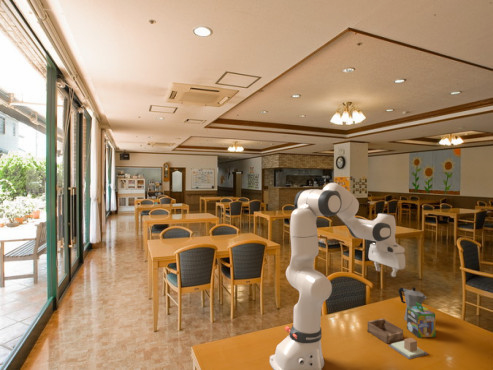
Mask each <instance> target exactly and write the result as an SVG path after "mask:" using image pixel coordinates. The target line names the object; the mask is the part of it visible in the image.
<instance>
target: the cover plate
mask: <svg viewBox="0 0 493 370" xmlns="http://www.w3.org/2000/svg"><path fill="white" fill-rule="evenodd" d="M390 344H391V345H392V346H393V347H395V348H396V349H398V350H400V351H401V352H403V353H404V354H406V355H407V356H409V357H412V356H416V355H419V354H423V353H424V351H425V350H423V349H421V348H420V347H418V341H417V340H416V339H415V338H412V337H409V338H405V339H404V338H403V340H400V341H396V342H392V343H390Z"/></svg>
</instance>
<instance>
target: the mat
mask: <svg viewBox="0 0 493 370" xmlns="http://www.w3.org/2000/svg"><path fill="white" fill-rule="evenodd" d="M391 344H392V343H389V344H387V345H388V347H390V348H391V349H393V350H394V351H396V352H397V353H399V354H401V356H403V357H405V358H406V359H408V360H410V359H415V358H418V357H422V356H426V355H429V353H428V352H426V351H425V350H423V351H424V353H423V354H419V355H416V356H412V357H409V356H407V355H406V354H404V353H403V352H401V351H400V350H398V349H396V348H395V347H393V346H392V345H391Z"/></svg>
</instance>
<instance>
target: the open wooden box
mask: <svg viewBox="0 0 493 370" xmlns="http://www.w3.org/2000/svg"><path fill="white" fill-rule="evenodd" d="M367 332H368V333H370V334H371V335H372V336H374V337H375V338H377V339H379V340H380V341H382V342H383V343H384V344H387V345H389V344H392V343H396V342H400V341H404V329H403V328H401V327H399V326H397V325H395V324H394V323H392V322H390V321H388V320H386V319H385V318H378V319H372V320H368V321H367Z"/></svg>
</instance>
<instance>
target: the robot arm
mask: <svg viewBox="0 0 493 370" xmlns="http://www.w3.org/2000/svg"><path fill="white" fill-rule="evenodd" d="M293 203H294V205H293V209H294V210H293V211H292V212H291V214H290V222H289V225H290V226H289V234H290V248H291V249H290V250H291V254H290V255H291V256H290V261H289V265H288V266H287V268H286V270H285V276H286V277H285V278H286V279H287V281H288V284H290V286H291V287H293V288H294V289H296V290H297V291H298V294H299V297H298V301H297V303H296V304H295V305H294V306H293V314H292V315H293V317H292V318H293V322H292V325H291V327H289V326H288V325H286V326H285V327H284V330H285V332H287V333H289V334H288V335H287V336H286V337H285V338H284V339H283V340H281V341H280V343H278V344H277V345H276V348H275V350H274V351H275V353H274V354H271V355H269V365H270V366H271V368H272V370H322V369H323V367H324V366H325V360H324V357H323V350H322V341H321V340H322V336H323V335H322V332H323V331H322V326H321V324H322V323H321V319H322V317H321V316H322V308H323V304H324V302H325V301H326V300H329V298H330V297H331V294H332V292H333V286H332V285H333V284H332V283H331V281H330V280H329V278H328V277H327V276H326V275H325V274H323V272H320V271H319V270H316V269H315V267H314V263H315V258H316V257H317V256H318V255H319V251H320V250H319V239H318V237H319V236H318V227H317V220H318V217H333V216H335V215H336V216H337V218H338V219H339V220H340V221H341V222H342V224H344V226H345V227H346V228H347V229H348V231H349V233H350V235H351V236H352V238H355V239H359V240H361V239H362V240H365V241H366V240H368V241H372V243H370V244H369V249H368V257H367V258H368V259H369V261H372V262H373V264H374V266H375V270H376V271H377V272H381V271H382V270H381V269H382V268H381V267H380V264H381V265H384V266H387V267H390V268H392V271H391V272H390V276H391V277H393V278H395V277H396V276H397V273H398V271H399V270H404V269H405V268H406V256H405V252H406V251H405V250H406V249H405V247H403V246H401V245H400V244H398V243H397V241H396V232H397V230H396V229H397V228H396V227H397V226H396V225H397V224H396V219H395V216H394V215H393V214H390V213H383V212H379V213H377V215H376V216H377V217H376V218H375V219H372V220H369V219H362V218H357V217H356V214H357V213H358V211H359V206H360V203H359V200H358V199H357V198H356V196H355V195H353V193H352V192H351V191H349V190H348V189H347V188H346V187H344V186H342V185H340V184H338V183H336V182H329V183H327V184H326V185H325V186H324V187H322V189H319V188H314V189H303V190H300V191H298V192H297V193H296V195H295V197H294V202H293Z"/></svg>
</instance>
